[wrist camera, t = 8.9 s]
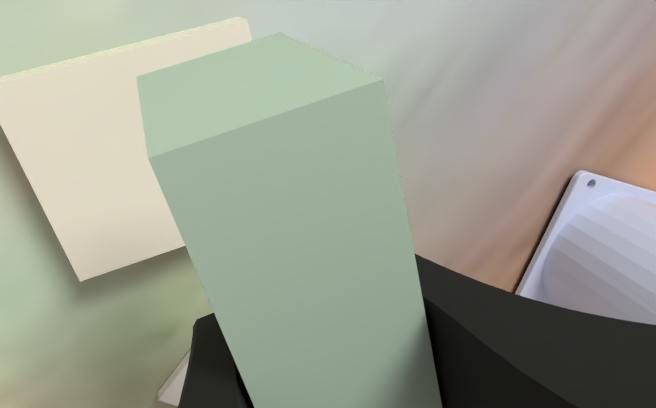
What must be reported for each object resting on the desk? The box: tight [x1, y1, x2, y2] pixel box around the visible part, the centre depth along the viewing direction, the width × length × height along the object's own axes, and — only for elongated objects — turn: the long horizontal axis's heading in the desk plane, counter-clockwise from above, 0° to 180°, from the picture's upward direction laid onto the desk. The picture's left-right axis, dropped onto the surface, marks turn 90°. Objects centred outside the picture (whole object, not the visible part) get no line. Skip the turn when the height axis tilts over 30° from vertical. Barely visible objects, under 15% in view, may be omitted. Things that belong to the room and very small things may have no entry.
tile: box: [0, 17, 252, 282], centre depth 19 cm, size 2×7×8 cm
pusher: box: [136, 33, 442, 408], centre depth 11 cm, size 10×3×5 cm, turn 15°
